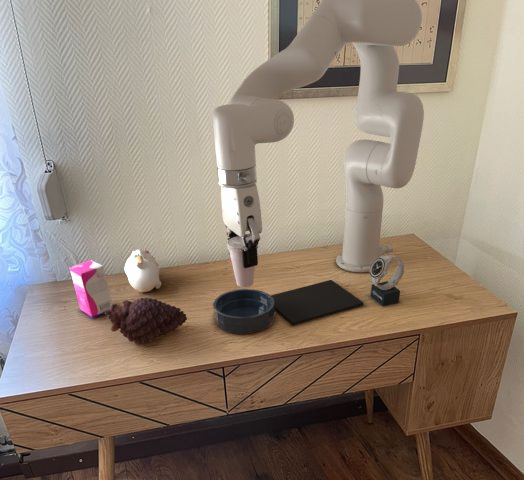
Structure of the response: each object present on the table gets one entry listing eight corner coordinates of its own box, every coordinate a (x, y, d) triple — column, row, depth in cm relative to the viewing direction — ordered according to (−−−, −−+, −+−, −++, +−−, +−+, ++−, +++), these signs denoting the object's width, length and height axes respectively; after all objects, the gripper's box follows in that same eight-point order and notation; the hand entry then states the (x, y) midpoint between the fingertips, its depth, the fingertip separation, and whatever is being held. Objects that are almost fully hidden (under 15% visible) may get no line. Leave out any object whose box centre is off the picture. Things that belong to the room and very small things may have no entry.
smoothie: (256, 290, 112) (252, 227, 104) (227, 289, 113) (221, 226, 105) (262, 277, 117) (259, 216, 109) (234, 275, 118) (229, 215, 110)
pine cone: (176, 314, 122) (189, 288, 115) (185, 350, 118) (199, 326, 110) (98, 314, 114) (106, 286, 106) (105, 353, 109) (114, 327, 102)
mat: (330, 282, 134) (331, 279, 133) (363, 305, 123) (363, 302, 123) (264, 300, 127) (264, 297, 126) (292, 326, 116) (292, 322, 116)
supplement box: (101, 302, 128) (91, 258, 122) (114, 310, 125) (104, 265, 118) (79, 310, 125) (68, 266, 119) (92, 319, 121) (81, 274, 115)
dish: (258, 299, 127) (257, 284, 125) (285, 324, 117) (285, 308, 114) (205, 313, 122) (204, 297, 120) (229, 341, 112) (227, 324, 110)
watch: (363, 297, 126) (367, 255, 120) (392, 291, 129) (397, 249, 122) (375, 308, 122) (380, 264, 116) (405, 301, 124) (411, 257, 118)
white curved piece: (147, 262, 124) (137, 234, 135) (120, 282, 125) (112, 252, 136) (171, 287, 131) (160, 258, 142) (145, 306, 132) (136, 276, 143)
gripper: (275, 182, 97) (277, 271, 107) (236, 162, 110) (242, 242, 120) (237, 190, 94) (244, 280, 104) (202, 168, 107) (211, 250, 117)
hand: (243, 259), depth 112 cm, fingers closed on smoothie, 6 cm apart
